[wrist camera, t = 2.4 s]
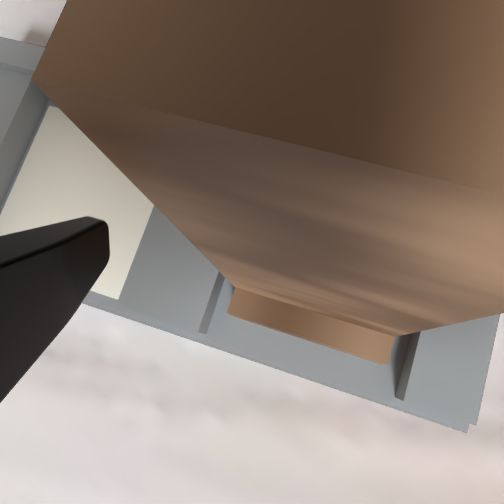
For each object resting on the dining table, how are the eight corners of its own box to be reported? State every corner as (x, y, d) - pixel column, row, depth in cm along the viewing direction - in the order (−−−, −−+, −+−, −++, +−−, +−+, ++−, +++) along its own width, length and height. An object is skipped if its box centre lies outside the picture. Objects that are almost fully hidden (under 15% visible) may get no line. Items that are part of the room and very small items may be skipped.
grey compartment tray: (512, 183, 19) (559, 144, 16) (457, 429, 17) (497, 447, 14) (28, 67, 23) (-20, 16, 20) (-59, 254, 21) (-130, 234, 18)
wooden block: (418, 219, 18) (812, -255, 4) (380, 363, 17) (742, 397, 3) (276, 182, 19) (204, -297, 5) (232, 316, 18) (-15, 175, 4)
